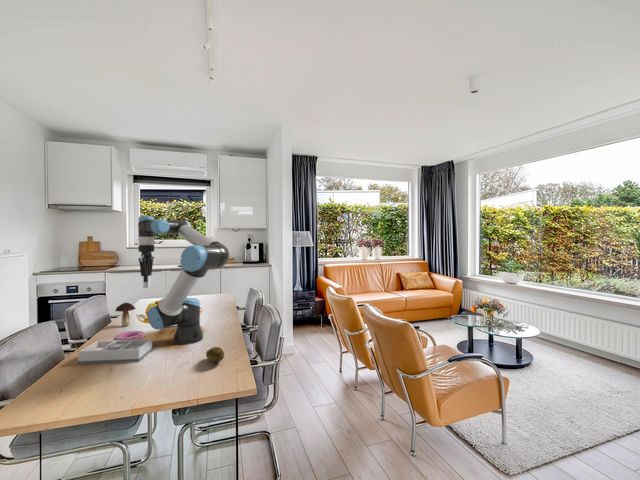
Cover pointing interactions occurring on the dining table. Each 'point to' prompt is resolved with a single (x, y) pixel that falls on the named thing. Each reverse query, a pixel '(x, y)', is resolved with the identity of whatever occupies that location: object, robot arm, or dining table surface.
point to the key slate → (116, 346)
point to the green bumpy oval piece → (215, 354)
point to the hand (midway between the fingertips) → (146, 287)
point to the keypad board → (115, 351)
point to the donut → (130, 335)
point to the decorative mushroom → (125, 312)
